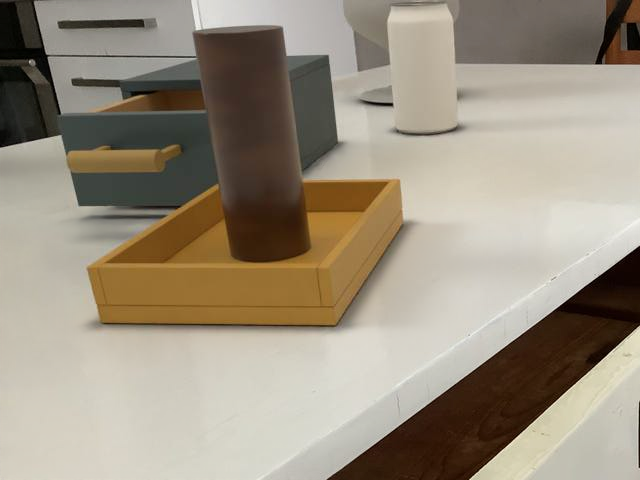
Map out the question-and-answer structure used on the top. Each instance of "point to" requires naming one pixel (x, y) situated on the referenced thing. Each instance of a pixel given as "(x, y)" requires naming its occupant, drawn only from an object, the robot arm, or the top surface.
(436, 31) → the can
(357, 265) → the tray
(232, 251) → the brown cylinder
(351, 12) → the chalice
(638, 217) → the top surface
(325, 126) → the cabinet
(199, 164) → the drawer
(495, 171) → the top surface
